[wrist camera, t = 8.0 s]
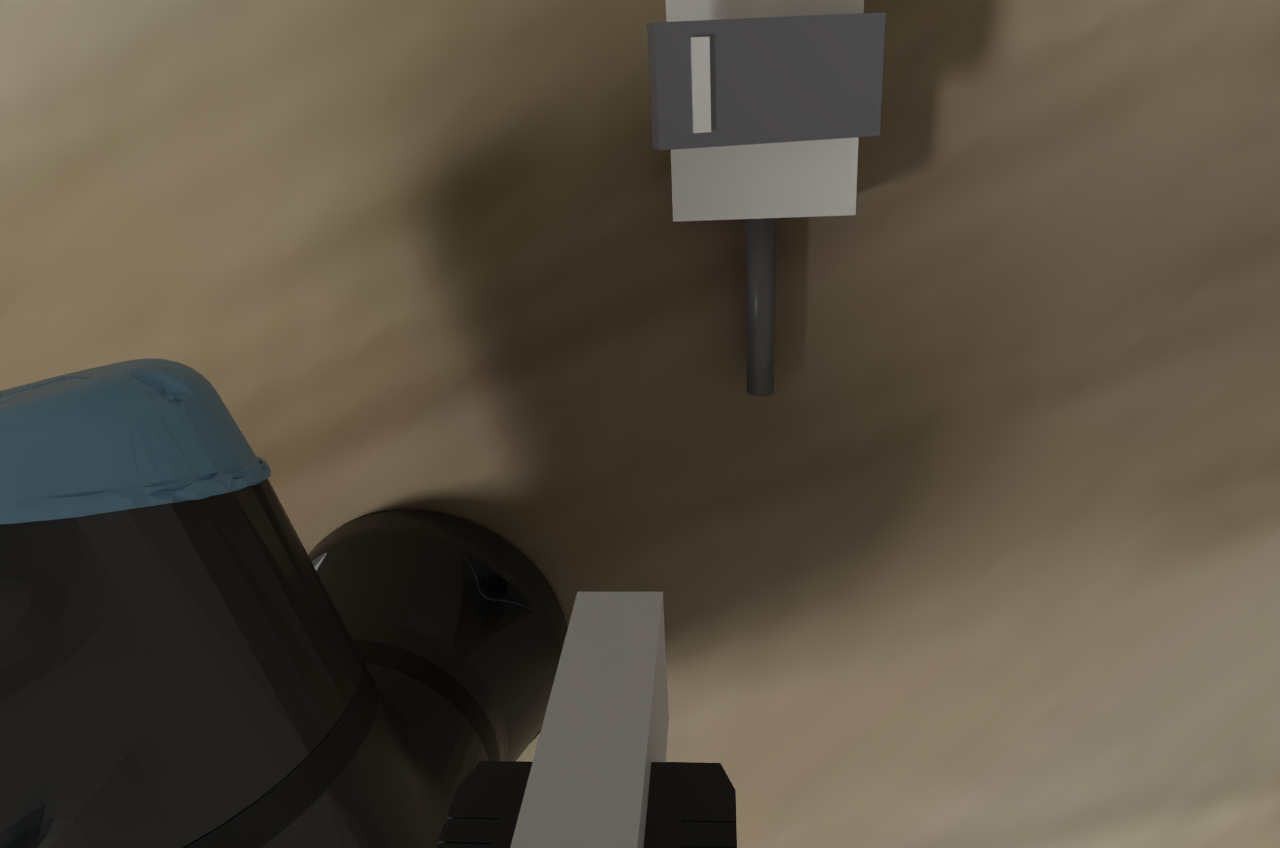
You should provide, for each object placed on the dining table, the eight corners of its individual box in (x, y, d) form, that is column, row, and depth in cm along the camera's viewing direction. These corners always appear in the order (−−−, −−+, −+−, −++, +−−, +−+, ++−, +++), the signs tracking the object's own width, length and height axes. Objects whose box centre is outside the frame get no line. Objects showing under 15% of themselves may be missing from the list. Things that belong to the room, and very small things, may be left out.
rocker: (652, 147, 32) (660, 150, 31) (647, 24, 30) (655, 22, 29) (866, 133, 33) (881, 135, 32) (871, 14, 32) (887, 11, 30)
